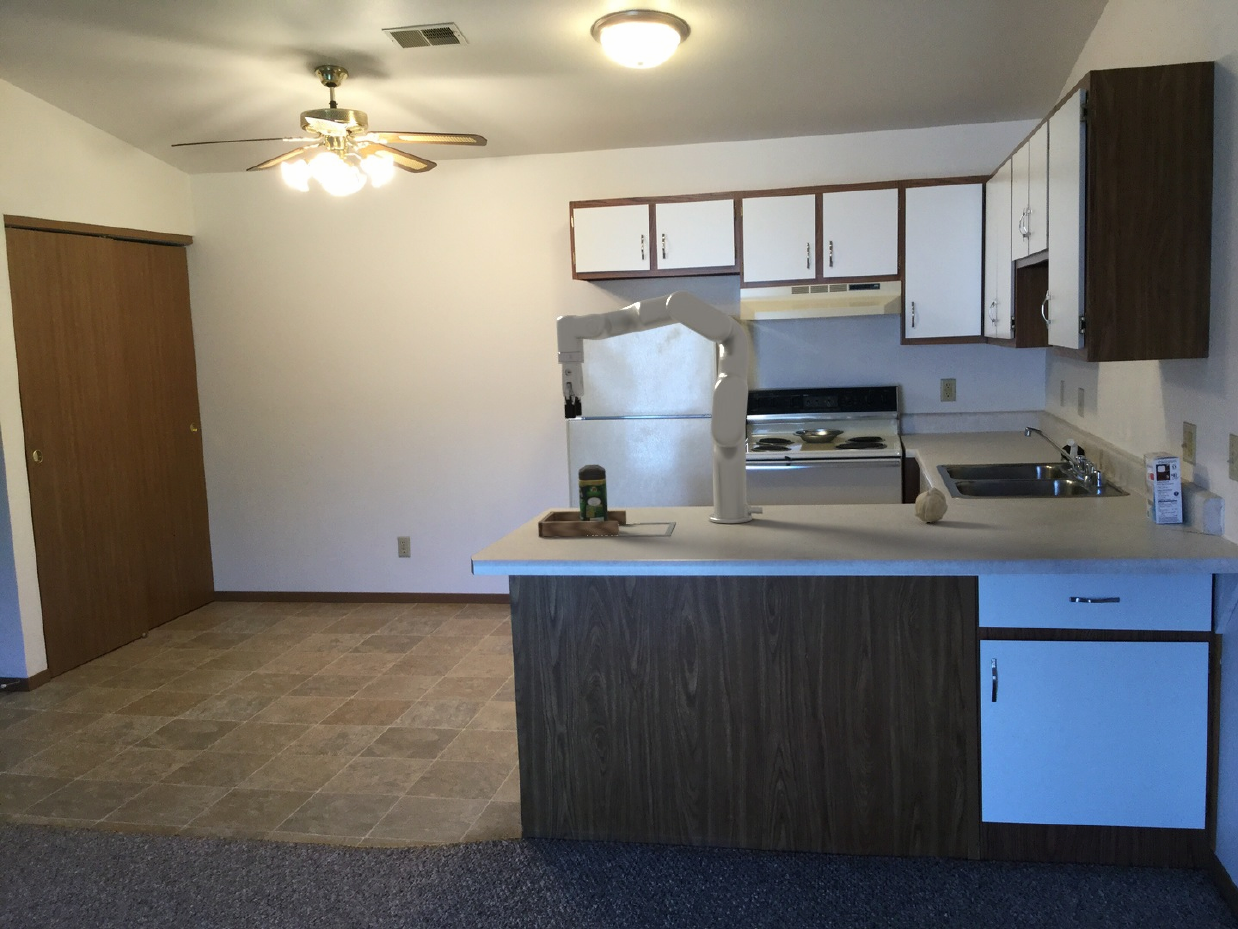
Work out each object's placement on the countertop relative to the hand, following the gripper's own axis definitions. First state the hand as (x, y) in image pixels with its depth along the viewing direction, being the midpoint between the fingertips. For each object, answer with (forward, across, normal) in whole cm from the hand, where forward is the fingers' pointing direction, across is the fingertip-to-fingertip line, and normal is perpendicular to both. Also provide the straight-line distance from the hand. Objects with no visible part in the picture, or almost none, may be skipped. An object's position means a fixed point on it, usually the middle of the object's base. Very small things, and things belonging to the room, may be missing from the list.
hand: (573, 417), depth 284 cm
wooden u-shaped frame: (+31, -13, -4) cm, 34 cm away
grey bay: (+31, -13, -22) cm, 40 cm away
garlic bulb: (+32, -8, -100) cm, 105 cm away
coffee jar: (+31, -13, -7) cm, 35 cm away
